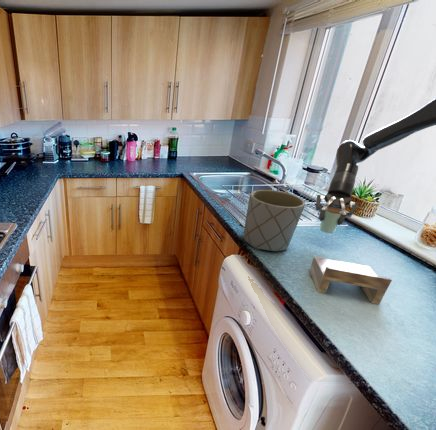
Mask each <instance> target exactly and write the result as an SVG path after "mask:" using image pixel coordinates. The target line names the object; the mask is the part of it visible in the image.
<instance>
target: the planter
mask: <svg viewBox="0 0 436 430" xmlns="http://www.w3.org/2000/svg"><path fill="white" fill-rule="evenodd" d="M305 206H306V201H305V200H304V199H303V198H301V197H299V196H297V195H295V194H293V193H289V192H285V191H280V190H273V189H257V190H252V191H251V192H250V193H249V198H248V203H247V210H246V216H245V222H244V228H243V235H242V237H243V240H244V241H245V242H246V243H247V244H248V245H249V246H251V248H254V249H255V250H256V251H257V250H264V251H272V252H280V251H287V249H288V248H289V246H290V243H291V240H292V239H293V236H294V233H295V231H296V228H297V226H298V224H299V221H300V219H301V216H302V214H303V211H304V210H305V209H304V208H305Z"/></svg>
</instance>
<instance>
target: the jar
mask: <svg viewBox="0 0 436 430" xmlns="http://www.w3.org/2000/svg"><path fill="white" fill-rule="evenodd" d="M342 213H343V210H341V209H339V208H335V207H326V209H325V213H324V216H323V219H322V221H320V224H319V228H318V229H319V231H321V232H323V233H327V234H334V233H336V230H337V228H338V226H339V225H338V222H339V219H340V217H341V214H342Z"/></svg>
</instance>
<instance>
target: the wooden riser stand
mask: <svg viewBox="0 0 436 430" xmlns="http://www.w3.org/2000/svg"><path fill="white" fill-rule="evenodd" d="M312 258H313V259H312V261H311V264H310V267H309V269H308V272H309V274H310V277H311V279H312V281H313V284H314V286H315V287H316V290H317V292H319V293H323V294H326V292H327V290H328V287H329V285H330V284H331V281H333V282H337V283H343V284H347V285H353V286H358V287H360V288H361V290H362V291H363V293H364V294H365V295H366V297H367V298H368V300H369V301H370V303H371V304H376V305H380V304H381V302H382V300H383V298H384V296H385V295H386V293H387V290H388V289H389V286H390V285H391V283H392V281H393V279H391V278H390V277H386V276H380V275H377V273H376V272H375V271H374V269H373V268H372V267H371V265H364V264H359V263H354V262H347V261H342V260H335V259H330V258H324V257H319V256H313V257H312Z"/></svg>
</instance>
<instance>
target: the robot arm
mask: <svg viewBox="0 0 436 430" xmlns="http://www.w3.org/2000/svg"><path fill="white" fill-rule="evenodd" d="M434 126H436V98H434V99H432V100H431V101H429V102H428V103H427V104H425V105H423V106H422V107H420V108H419V109H417V110H415V111H414V112H412V113H410V114H409V115H407V116H405V117H403V118H401V119H399V120H397V121H394V122H392V123H389V124H388V125H386V126H383V127H381V128H379V129H377V130H374V131H373V132H371V133H369V134H367V135H366V136H364V138H363V139H362V144H363V145H361V144H359V143H358V142H356V141H354V140H351V139H349V140H345V141H343V142H342V143H340V145H339V146H338V147H337V149H336V155H335V156H336V158H335V159H336V168H335V171H334V174H333V176H332V178H331V180H330V183H329V187H328V189H327V193H326V194H325V195H321V194H317V195H316V198H315V211H318V212H319V215H318V220H319V222H321V221H322V219H323V216H324V213H325V209H326V207H335V208H339V209H341V210H343V213H342V214H341V217H340V219H339V222H338V225H337V226H341V225H343V224H344V222H345V219H346V218H351V217H352V216H353V215H354V213H355V211H356V210H357V208H358V207H359V205H360V202H358V201H356V202H355V201H352V199H351V197H352V193H353V190H354V188H355V184H356V178H357V175H358V172H359V164H361V163H363V162H365V160H367V159H368V158H369V157H371V156H372V155H374V154H375V153H377V152H378V151H380V150H382V149H384V148H387V147H389V146H391V145H392V146H393V144H396V143H398V142H400V141H402V140H404V139H405V138H407V137H410V136H411V135H413V134H415V133H417V132H420V131H422V130H426V129H428V128H431V127H434ZM323 200H324V202H325V204H324V205H323V206H321V202H323ZM348 205H350V208H351V209H349V212H347V210H346V207H348Z"/></svg>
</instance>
